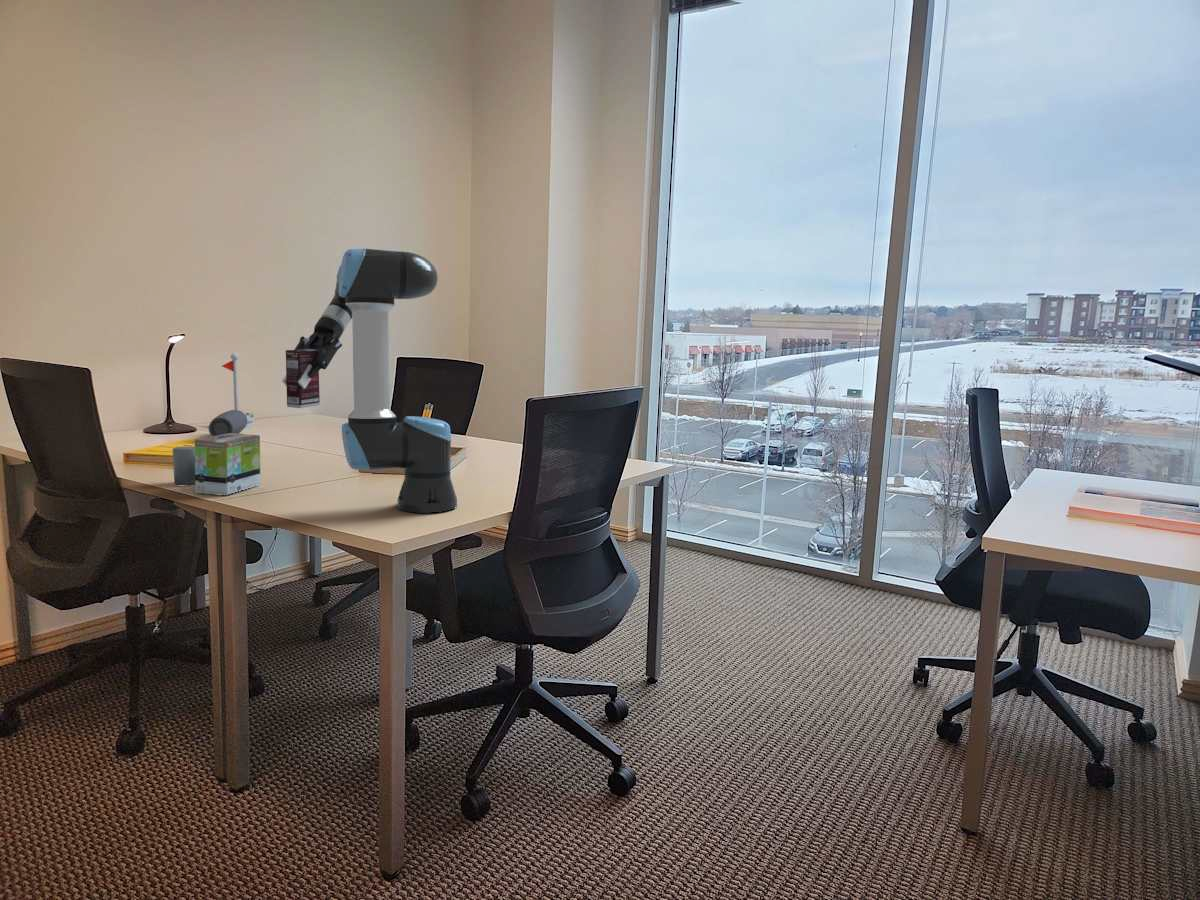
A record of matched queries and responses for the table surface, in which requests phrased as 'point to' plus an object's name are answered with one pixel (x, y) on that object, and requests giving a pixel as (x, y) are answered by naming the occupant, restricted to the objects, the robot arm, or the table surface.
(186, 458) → the upright grey block
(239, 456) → the tea box
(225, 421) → the bluetooth speaker
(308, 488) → the table surface
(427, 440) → the robot arm
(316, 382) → the supplement box
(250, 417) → the flag stand
